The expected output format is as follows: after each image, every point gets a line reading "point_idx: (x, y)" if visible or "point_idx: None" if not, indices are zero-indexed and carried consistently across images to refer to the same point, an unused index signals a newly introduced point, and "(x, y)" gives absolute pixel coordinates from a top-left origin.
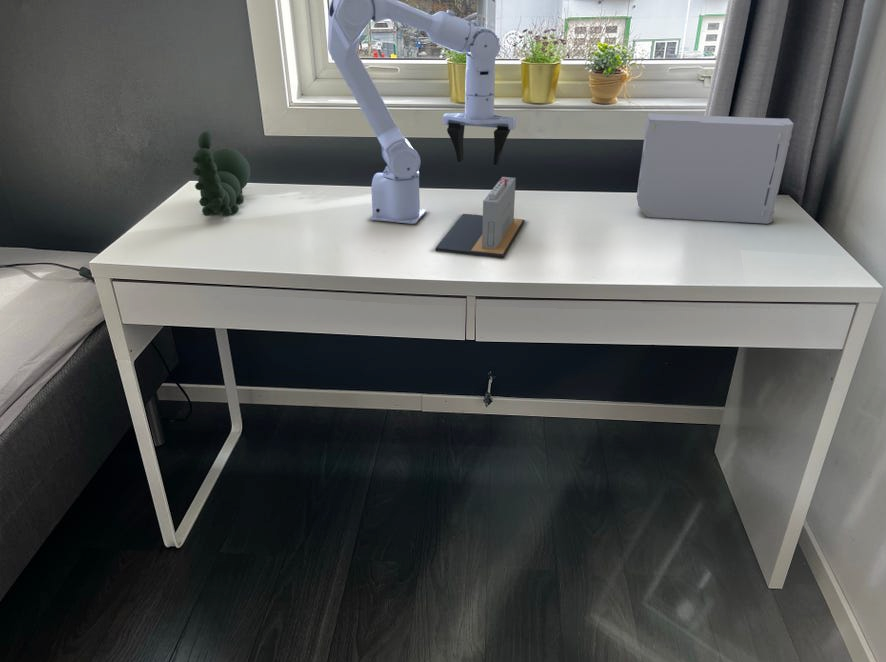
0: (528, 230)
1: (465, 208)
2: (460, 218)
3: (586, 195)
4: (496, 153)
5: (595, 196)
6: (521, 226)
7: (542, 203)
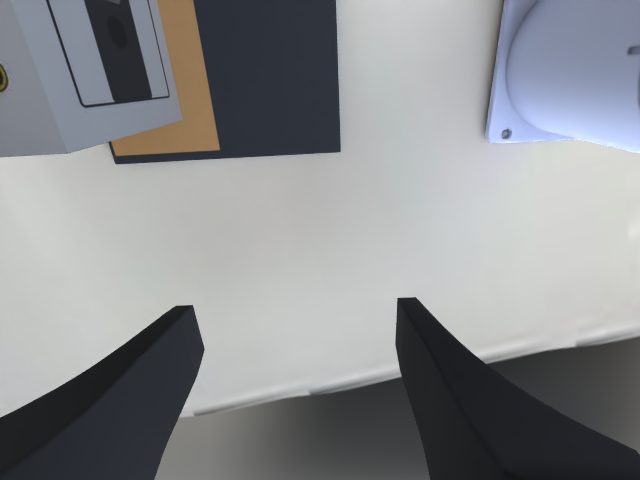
0: None
1: (355, 229)
2: (333, 92)
3: None
4: (135, 346)
5: None
6: None
7: None
